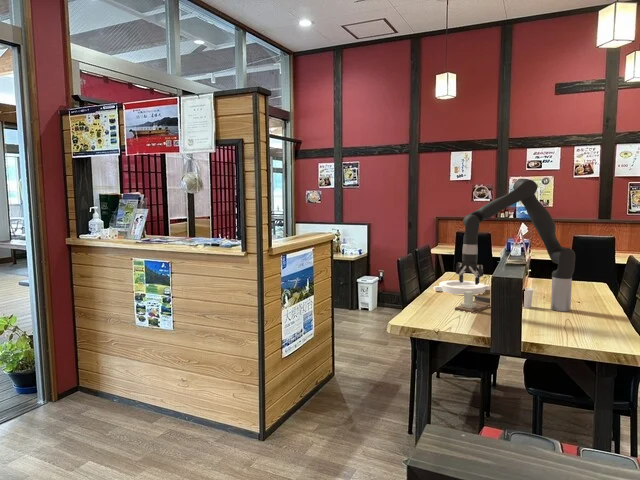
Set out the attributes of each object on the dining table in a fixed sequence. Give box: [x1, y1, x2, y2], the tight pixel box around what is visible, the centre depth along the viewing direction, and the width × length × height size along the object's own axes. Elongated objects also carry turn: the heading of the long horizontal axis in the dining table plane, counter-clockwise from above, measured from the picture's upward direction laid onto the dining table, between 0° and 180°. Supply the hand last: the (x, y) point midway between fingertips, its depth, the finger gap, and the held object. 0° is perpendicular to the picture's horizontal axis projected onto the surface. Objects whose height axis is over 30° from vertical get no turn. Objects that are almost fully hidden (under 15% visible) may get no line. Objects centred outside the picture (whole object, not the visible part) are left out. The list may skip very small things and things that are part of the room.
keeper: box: [460, 291, 476, 309], centre depth 235 cm, size 5×6×8 cm
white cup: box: [523, 287, 534, 309], centre depth 241 cm, size 8×8×10 cm
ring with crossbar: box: [433, 279, 491, 295], centre depth 284 cm, size 28×28×5 cm
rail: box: [454, 295, 491, 314], centre depth 240 cm, size 24×10×4 cm, turn 134°
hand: (468, 283), depth 234 cm, fingers open, 8 cm apart
